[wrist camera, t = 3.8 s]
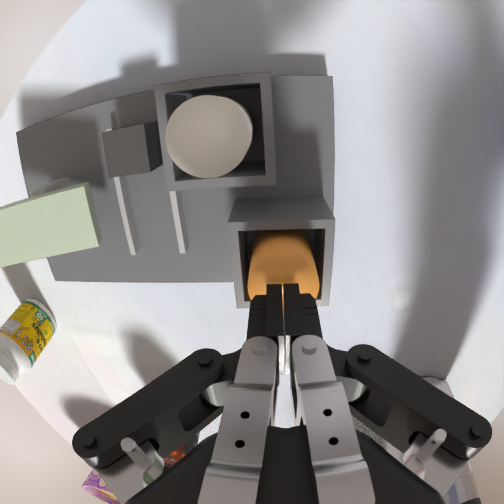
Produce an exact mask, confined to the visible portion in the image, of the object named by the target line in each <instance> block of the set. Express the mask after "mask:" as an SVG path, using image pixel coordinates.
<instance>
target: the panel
mask: <svg viewBox="0 0 504 504" xmlns="http://www.w3.org/2000/svg"><path fill="white" fill-rule="evenodd" d="M202 95H213V96H220V97H227V98H231V99H234V100H237V101H238V102H240V103H242V104H243V105H244V106H245V107H246V108H247V109H248V110H249V112H250V113H251V115H252V117H253V120H254V126H255V132H254V137H253V140H252V143H251V145H250V147H249V149H248V151H247V153H246V155H245V156H244V158H243V160H242V161H241V162H240V163H239V165H238V166H237V167H236V168H234V169H233V170H232V171H230V172H228V173H227V174H224V175H222V176H219V177H215V178H200V177H195V176H193V175H190V174H188V173H186V172H184V171H183V170H182V169H180V168H179V167H178V166H177V165H176V164H175V163H174V161H173V160H172V158H171V157H170V155H169V153H168V150H167V147H166V141H165V133H166V127H167V124H168V121H169V119H170V117H171V115H172V114H173V112H174V111H175V110H176V109H177V108H178V107H179V106H180V105H181V104H182V103H184V102H185V101H187V100H189V99H191V98H194V97H197V96H202ZM154 121H158V126H159V135H160V143H161V151H162V158H163V165H161V166H160V167H158V168H156V169H155V170H153V171H152V172H149V173H141V174H134V175H127V176H120V177H113V178H109V176H108V171H107V165H106V159H105V153H104V146H103V140H102V132H106V131H110V130H114V129H118V128H123V127H127V126H132V125H138V124H143V123H148V122H154ZM16 135H17V142H18V148H19V154H20V160H21V165H22V170H23V175H24V180H25V184H26V189H27V193H28V197H29V198H31V197H34V196H37V195H41V194H44V193H48V192H51V191H55V190H59V189H62V188H66V187H70V186H74V185H78V184H82V183H86V182H89V185H90V190H91V194H92V199H93V203H94V208H95V212H96V216H97V220H98V224H99V228H100V232H101V235H102V241H101V243H100V245H99V247H94V248H89V249H84V250H79V251H74V252H69V253H65V254H60V255H55V256H50V257H47V260H48V262H49V265H50V268H51V270H52V273H53V276H54V278H55V281H81V282H155V283H184V282H234V288H235V296H236V305H237V308H250V302H251V299H250V297H249V294H248V278H249V270H250V262H251V255H252V247H253V243H254V240H255V238H256V237H257V235H258V234H259V233H260V232H261V231H262V230H284V229H300V230H301V231H303V232H304V233H305V234H306V236H307V237H308V239H309V242H310V245H311V249H312V253H313V257H314V261H315V266H316V270H317V274H318V279H319V292H318V295H317V297H316V299H315V300H316V304H317V306H329V298H330V288H331V276H332V264H333V250H334V233H335V218H334V216H333V208H334V163H335V142H334V98H333V76H303V75H296V76H271V74H270V72H260V73H244V74H232V75H222V76H213V77H205V78H197V79H190V80H184V81H178V82H172V83H166V84H161V85H156V86H155V90H150V91H145V92H141V93H136V94H132V95H128V96H123V97H119V98H115V99H112V100H108V101H104V102H101V103H97V104H94V105H90V106H87V107H84V108H80V109H77V110H74V111H71V112H68V113H65V114H62V115H59V116H57V117H54V118H51V119H48V120H46V121H43V122H40V123H38V124H35V125H33V126H30V127H28V128H26V129H23V130H21V131H18V132H16Z"/></svg>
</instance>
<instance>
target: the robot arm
mask: <svg viewBox="0 0 504 504" xmlns="http://www.w3.org/2000/svg"><path fill="white" fill-rule="evenodd" d="M283 318H284V322H283ZM284 347H285V374H290V391H291V399H292V407H293V414H294V422H295V427H291V428H279V427H274V422H275V412H276V403H277V393H278V386H279V374H284ZM221 413H222V417H221V421H220V426H219V430H218V433H215V434H213V435H211V436H209V437H207V438H206V439H204V440H203V441H201V442H200V443H199V444H198V445H197V446H195V447H194V448H193V449H192V450H191V451H190V452H188V453H187V454H186V455H185V456H184V457H182V458H181V459H180V460H179V461H178V462H176V463H175V464H174V465H173V466H171V467H170V468H169V469H168V470H167V471H165V472H164V473H163V474H161V473H162V472H163V469H164V461H163V459H165V458H166V457H168V456H169V455H170V454H172V453H173V452H174V451H175V450H177V449H178V448H179V447H181V446H182V445H183V444H185V443H186V442H187V441H188V440H190V439H191V438H192V437H193V436H195V435H196V434H197V433H198V432H200V431H201V430H202V429H203V428H205V427H206V426H207V425H208V424H210V423H211V422H212V421H213V420H214V419H216V418H217V417H218V416H219V415H220V414H221ZM351 414H352V415H353V416H355V417H356V418H357V419H358V420H360V421H361V422H362V423H363V424H365V425H366V426H367V427H369V428H370V429H371V430H372V431H374V432H375V433H376V434H378V435H379V436H380V437H382V442H383V447H384V449H383V448H382V447H381V446H380V445H379V444H377V443H376V442H375V441H374V440H373V439H371V438H370V437H369V436H367V435H366V434H364V433H363V432H360V431H358V430H356V429H355V427H354V423H353V419H352V416H351ZM491 436H492V428H491V425H490V423H489V422H488V420H487V419H485V418H484V417H482V416H481V415H479V414H478V413H476V412H474V411H473V410H471V409H470V408H468V407H466V406H465V405H463V404H462V403H460V402H459V401H457V400H455V399H454V397H453V394H452V392H451V389H450V387H449V385H448V383H447V380H446V379H445V380H438V379H436V378H433V377H422V378H421V377H419V376H418V375H416V374H415V373H413V372H412V371H410V370H409V369H407V368H405V367H404V366H402V365H401V364H399V363H398V362H396V361H395V360H393V359H392V358H390V357H388V356H387V355H385V354H384V353H382V352H381V351H379V350H378V349H376V348H375V347H373V346H370V345H366V344H360V345H356V346H353V347H352V348H351V349H350V350H349V351H348V352H347V351H342V350H337V349H334V348H332V347H330V346H328V345H327V344H326V342H325V341H324V340H323V337H322V332H321V326H320V320H319V315H318V310H317V304H316V300H315V298H314V297H313V296H312V295H311V294H310V293H301V294H300V290H299V283H283V298H282V284H267V285H266V295H255V296H254V298H253V299H252V300H251V302H250V311H249V320H248V330H247V339H246V342H245V343H244V344H243V346H242V348H241V349H239V350H238V351H236V352H234V353H230V354H226V355H221V354H220V353H219V352H218V351H216V350H214V349H209V348H205V349H200V350H197V351H195V352H194V353H192V354H191V355H189V356H188V357H186V358H185V359H184V360H182V361H181V362H179V363H178V364H177V365H175V366H174V367H172V368H171V369H169V370H168V371H166V372H165V373H164V374H162V375H161V376H159V377H158V378H156V379H155V380H153V381H152V382H151V383H149V384H148V385H146V386H145V387H143V388H142V389H140V390H139V391H137V392H136V393H134V394H133V395H131V396H130V397H128V398H127V399H125V400H124V401H122V402H121V403H119V404H118V405H116V406H115V407H113V408H112V409H110V410H108V411H107V412H105V413H104V414H102V415H101V416H99V417H98V418H96V419H94V420H93V421H91V422H90V423H88V424H87V425H85V426H83V427H82V428H80V429H79V430H78V431H77V432H76V433H75V435H74V436H73V440H72V446H73V448H74V451H75V452H76V453H77V454H78V455H79V456H80V457H81V458H82V459H84V461H85V462H86V463H87V464H88V465H89V466H90V467H91V468H93V469H94V470H95V471H96V472H97V473H98V474H99V475H100V477H101V478H102V480H103V481H104V482H105V484H106V485H107V486H108V488H109V489H110V490H111V492H112V493H113V494H114V496H115V497H116V498H117V499H118V501H119V502H120V503H121V504H481V501H480V498H479V495H478V490H477V487H476V483H475V479H474V476H473V472H472V469H471V465H470V462H469V460H470V459H472V458H473V457H474V456H475V455H476V454H477V453H478V452H479V451H480V450H481V449H482V448H484V447H485V446H486V444H488V442H489V441H490V439H491Z"/></svg>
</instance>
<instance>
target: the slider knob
mask: <svg viewBox="0 0 504 504" xmlns="http://www.w3.org/2000/svg"><path fill="white" fill-rule="evenodd" d="M102 140H103V146H104V153H105V159H106V165H107V171H108V176H109V178H113V177H120V176H127V175H134V174H141V173H149V172H152V171H153V170H155V169H156V168H158V167H160V166H161V165H163V158H162V151H161V143H160V135H159V126H158V121H154V122H148V123H143V124H138V125H132V126H127V127H123V128H118V129H114V130H110V131H106V132H102Z"/></svg>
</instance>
